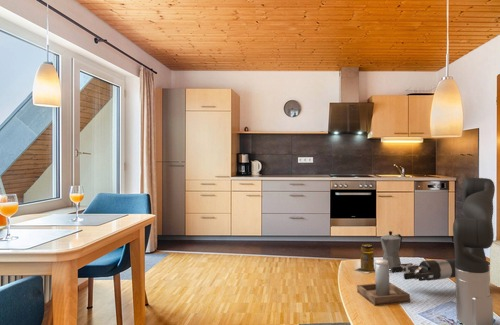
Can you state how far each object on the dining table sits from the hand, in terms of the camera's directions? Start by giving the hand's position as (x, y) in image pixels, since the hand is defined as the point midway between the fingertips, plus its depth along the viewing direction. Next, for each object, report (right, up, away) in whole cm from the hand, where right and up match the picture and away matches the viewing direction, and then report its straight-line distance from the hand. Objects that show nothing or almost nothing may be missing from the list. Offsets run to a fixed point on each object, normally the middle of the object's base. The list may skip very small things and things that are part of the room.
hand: (397, 273), depth 140 cm
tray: (-6, -9, -1) cm, 11 cm away
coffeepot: (+12, -9, +35) cm, 38 cm away
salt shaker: (-6, -8, -1) cm, 10 cm away
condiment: (-2, -9, +33) cm, 34 cm away
